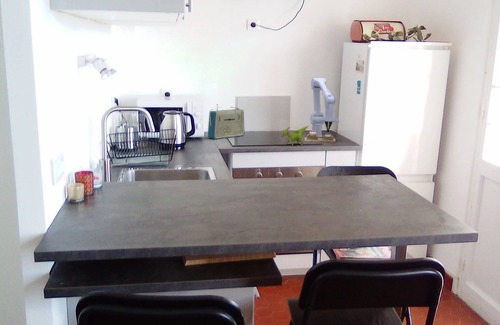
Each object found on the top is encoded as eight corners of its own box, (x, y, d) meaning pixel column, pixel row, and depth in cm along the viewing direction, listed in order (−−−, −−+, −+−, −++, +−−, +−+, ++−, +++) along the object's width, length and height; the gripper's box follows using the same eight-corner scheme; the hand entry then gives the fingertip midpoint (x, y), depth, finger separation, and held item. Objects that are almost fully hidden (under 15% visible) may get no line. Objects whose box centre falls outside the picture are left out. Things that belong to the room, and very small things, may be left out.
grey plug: (324, 137, 353) (324, 132, 352) (330, 138, 352) (331, 133, 351) (324, 138, 348) (324, 133, 347) (330, 139, 348) (331, 133, 347)
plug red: (309, 135, 354) (309, 130, 353) (315, 135, 353) (315, 130, 352) (309, 136, 350) (309, 131, 349) (315, 136, 349) (315, 131, 348)
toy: (285, 150, 337) (277, 132, 331) (309, 134, 342) (301, 116, 336) (291, 152, 329) (282, 134, 323) (315, 135, 335) (307, 117, 329)
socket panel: (305, 138, 359) (305, 133, 358) (335, 139, 355) (335, 135, 355) (304, 141, 347) (304, 136, 347) (335, 142, 344) (335, 137, 343)
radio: (213, 139, 344) (213, 105, 339) (207, 138, 350) (207, 104, 345) (245, 136, 364) (245, 103, 358) (238, 134, 369) (239, 102, 364)
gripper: (318, 113, 343) (317, 132, 346) (339, 114, 341) (338, 133, 344) (319, 112, 350) (318, 130, 353) (339, 113, 348) (338, 131, 351)
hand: (327, 132), depth 349 cm, fingers closed
